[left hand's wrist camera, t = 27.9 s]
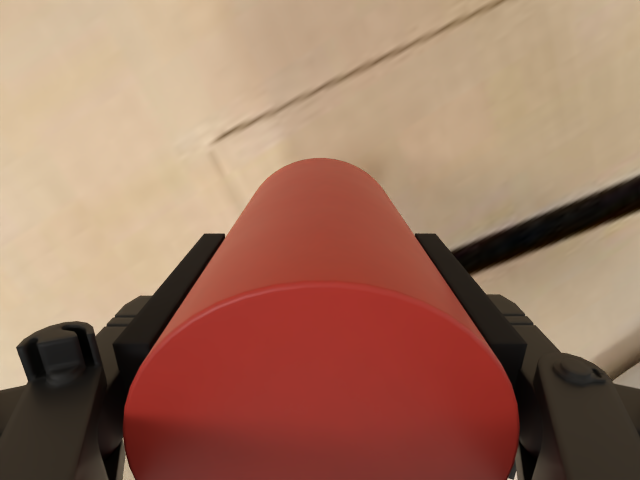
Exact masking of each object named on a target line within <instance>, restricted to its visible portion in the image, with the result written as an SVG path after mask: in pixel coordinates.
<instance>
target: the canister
mask: <svg viewBox="0 0 640 480" xmlns="http://www.w3.org/2000/svg"><path fill="white" fill-rule="evenodd" d="M519 431H520V423H519V414H518V405H517V401H516V397H515V394H514V391H513V387H512V384H511V382H510V380H509V378H508V376H507V374H506V372H505V370H504V368H503V366H502V364H501V363H500V361H499V360H498V358H497V357H496V355H495V354H494V353H493V351H492V350H491V348H490V347H489V345H488V344H487V342H486V341H485V339H484V338H483V336H482V335H481V333H480V332H479V330H478V329H477V327H476V326H475V324H474V323H473V321H472V320H471V319H470V317H469V316H468V314H467V313H466V311H465V310H464V308H463V307H462V305H461V304H460V302H459V301H458V299H457V298H456V296H455V295H454V293H453V292H452V290H451V289H450V287H449V286H448V285H447V283H446V282H445V280H444V279H443V277H442V276H441V274H440V273H439V271H438V270H437V268H436V267H435V265H434V264H433V262H432V261H431V259H430V258H429V256H428V255H427V253H426V252H425V251H424V249H423V248H422V246H421V245H420V243H419V242H418V240H417V239H416V237H415V236H414V234H413V233H412V231H411V230H410V228H409V227H408V225H407V224H406V222H405V221H404V220H403V218H402V217H401V215H400V214H399V212H398V211H397V209H396V208H395V206H394V205H393V203H392V202H391V200H390V199H389V197H388V196H387V194H386V193H385V192H384V190H383V189H382V187H381V186H380V185H379V184H378V183H377V182H376V181H375V180H374V179H373V178H372V177H371V176H370V175H369V174H367V173H366V172H365V171H363V170H361V169H360V168H358V167H356V166H354V165H351V164H349V163H347V162H343V161H339V160H336V159H328V158H313V159H306V160H301V161H298V162H294V163H292V164H289V165H287V166H285V167H283V168H281V169H279V170H278V171H276V172H275V173H273V174H272V175H271V176H270V177H268V178H267V179H266V180H265V181H264V182H263V183H262V185H261V186H260V187H259V188H258V190H257V191H256V193H255V194H254V196H253V197H252V199H251V200H250V202H249V203H248V205H247V206H246V208H245V209H244V211H243V212H242V214H241V215H240V217H239V218H238V220H237V221H236V223H235V224H234V226H233V227H232V229H231V230H230V232H229V233H228V235H227V236H226V238H225V239H224V241H223V242H222V244H221V245H220V247H219V248H218V250H217V251H216V253H215V254H214V256H213V257H212V259H211V260H210V262H209V263H208V265H207V266H206V268H205V269H204V271H203V272H202V274H201V275H200V277H199V278H198V280H197V281H196V283H195V284H194V286H193V287H192V289H191V290H190V292H189V293H188V295H187V296H186V298H185V299H184V301H183V302H182V304H181V305H180V307H179V308H178V310H177V311H176V313H175V314H174V316H173V318H172V319H171V321H170V322H169V324H168V325H167V327H166V328H165V330H164V331H163V333H162V334H161V336H160V337H159V339H158V340H157V342H156V343H155V345H154V346H153V348H152V349H151V351H150V352H149V354H148V355H147V357H146V358H145V360H144V361H143V363H142V364H141V366H140V367H139V369H138V371H137V374H136V376H135V378H134V380H133V382H132V384H131V386H130V389H129V393H128V396H127V400H126V403H125V409H124V420H123V438H124V449H125V452H126V456H127V460H128V463H129V467H130V469H131V471H132V473H133V476H134V478H135V480H507V478H508V476H509V474H510V472H511V469H512V467H513V465H514V461H515V457H516V453H517V450H518V444H519Z"/></svg>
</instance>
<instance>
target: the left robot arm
mask: <svg viewBox="0 0 640 480" xmlns="http://www.w3.org/2000/svg"><path fill="white" fill-rule="evenodd" d="M415 237H416V239H417V240H418V242H419V243H420V245H421V246H422V248H423V249H424V251H425V252H426V253H427V255H428V256H429V258H430V259H431V261H432V262H433V264H434V265H435V267H436V268H437V270H438V271H439V273H440V274H441V276H442V277H443V279H444V280H445V282H446V283H447V285H448V286H449V287H450V289H451V290H452V292H453V293H454V295H455V296H456V298H457V299H458V301H459V302H460V304H461V305H462V307H463V308H464V310H465V311H466V313H467V314H468V316H469V317H470V319H471V320H472V321H473V323H474V324H475V326H476V327H477V329H478V330H479V332H480V333H481V335H482V336H483V338H484V339H485V341H486V342H487V344H488V345H489V347H490V348H491V350H492V351H493V353H494V354H495V355H496V357H497V358H498V360H499V361H500V363H501V364H502V366H503V368H504V370H505V372H506V374H507V376H508V378H509V380H510V382H511V384H512V387H513V391H514V394H515V397H516V401H517V405H518V414H519V423H520V431H519V444H518V450H517V453H516V457H515V461H514V465H513V467H512V469H511V472H510V474H509V476H508V478H510V479H513V480H514V477H515V473H516V471H517V478H518V480H640V389H638V388H633V387H628V386H624V385H619V384H615V383H613V382H612V380H611V379H610V378H609V376H608V375H607V374H606V373H605V372H604V371H603V370H602V369H600V368H599V367H598V366H596V365H595V364H593V363H591V362H589V361H587V360H585V359H583V358H581V357H577V356H574V355H571V354H567V353H561V352H560V351H559V350H558V349H557V348H556V347H555V346H554V344H553V343H552V342H551V341H550V340H549V339H548V338H547V337H546V336H545V335H544V334H543V333H542V332H541V331H540V330H539V328H538V327H537V326H536V325H533V322H532V321H531V320H530V319H529V318H528V317H527V316H525V314H524V312H523V311H522V310H521V309H520V308H519V307H518V306H517V305H516V304H515V303H513V302H512V301H510V300H508V299H506V298H505V297H503V296H501V295H486V294H485V292H484V291H483V290H482V289H481V288H480V286H479V285H478V284H477V283H476V282H475V281H474V279H473V278H472V277H471V276H470V275H469V273H468V272H467V271H466V270H465V269H464V267H463V266H462V265H461V264H460V263H459V261H458V260H457V259H456V258H455V257H454V255H453V254H452V253H451V252H450V251H449V249H448V248H447V247H446V246H445V245H444V243H443V242H442V241H441V240H440V239H439V237H438V236H437V235H436V234H415ZM224 239H225V234H204V235H203V236H202V237H201V238H200V239H199V241H198V242H197V243H196V244H195V245H194V247H193V248H192V249H191V250H190V251H189V253H188V254H187V255H186V256H185V257H184V259H183V260H182V261H181V262H180V263H179V265H178V266H177V267H176V268H175V269H174V271H173V272H172V273H171V274H170V275H169V277H168V278H167V279H166V280H165V281H164V283H163V284H162V285H161V286H160V287H159V289H158V290H157V291H156V292H155V293H154V295H153V296H139V297H137V298H136V299H134V300H132V301H131V302H129V303H127V304H125V305H124V306H123V307H122V308H121V310H120V311H119V312H118V313H117V314H116V315H115V318H112V319H111V320H110V321H109V322H108V323H107V326H106V327H104V328H103V329H102V330H101V331H100V332H99V333H98V334H97V335H96V336H95V333H94V329H93V327H92V326H91V325H89V324H88V323H85V322H78V321H75V322H64V323H60V324H56V325H52V326H49V327H46V328H44V329H41V330H39V331H37V332H35V333H33V334H32V335H30V336H28V337H27V338H25V339H24V340H23V341H22V342H21V343H20V344H19V345H18V346H17V347H16V348H17V351H18V354H19V357H20V359H21V362H22V365H23V368H24V371H25V373H26V376H27V379H28V383H27V385H24V386H20V387H15V388H10V389H5V390H1V391H0V480H122V479H123V471H124V463H125V449H124V443H123V439H122V438H123V420H124V409H125V403H126V400H127V396H128V393H129V389H130V386H131V384H132V382H133V380H134V378H135V376H136V374H137V371H138V369H139V367H140V366H141V364H142V363H143V361H144V360H145V358H146V357H147V355H148V354H149V352H150V351H151V349H152V348H153V346H154V345H155V343H156V342H157V340H158V339H159V337H160V336H161V334H162V333H163V331H164V330H165V328H166V327H167V325H168V324H169V322H170V321H171V319H172V318H173V316H174V314H175V313H176V311H177V310H178V308H179V307H180V305H181V304H182V302H183V301H184V299H185V298H186V296H187V295H188V293H189V292H190V290H191V289H192V287H193V286H194V284H195V283H196V281H197V280H198V278H199V277H200V275H201V274H202V272H203V271H204V269H205V268H206V266H207V265H208V263H209V262H210V260H211V259H212V257H213V256H214V254H215V253H216V251H217V250H218V248H219V247H220V245H221V244H222V242H223V241H224Z"/></svg>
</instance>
